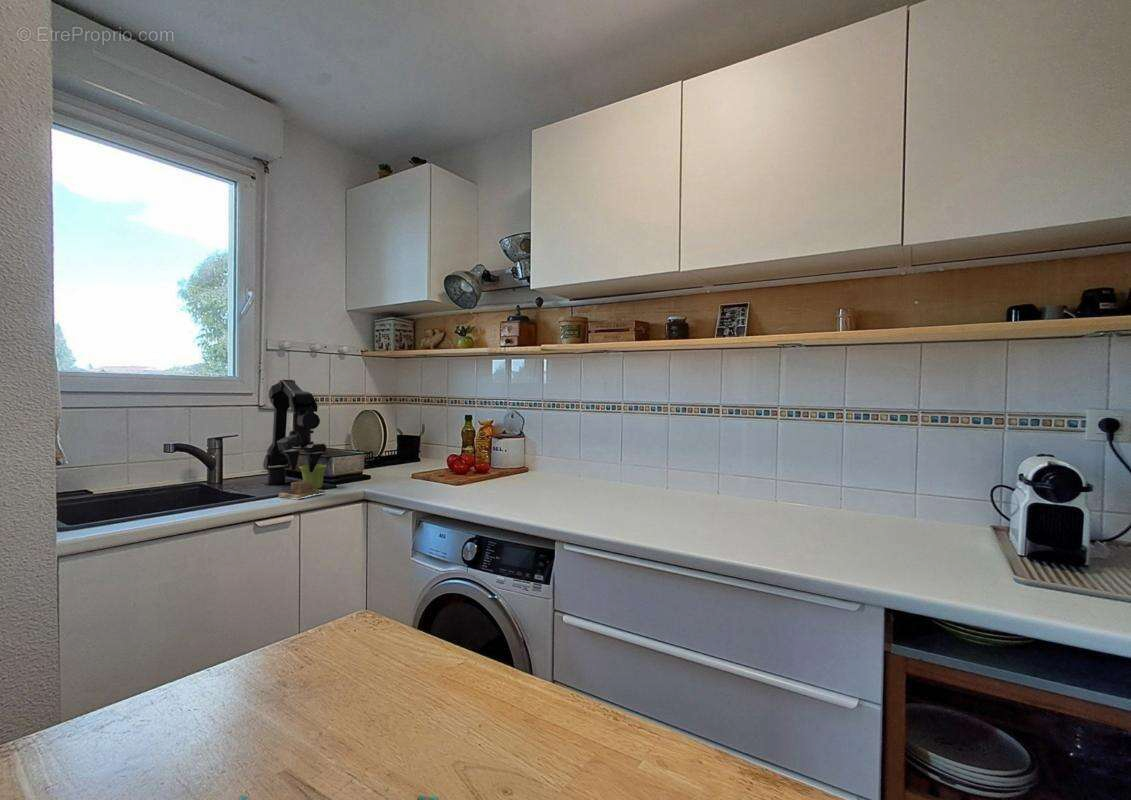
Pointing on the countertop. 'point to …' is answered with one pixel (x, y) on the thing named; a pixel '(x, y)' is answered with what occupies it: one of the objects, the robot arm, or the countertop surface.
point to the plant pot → (313, 475)
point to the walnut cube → (301, 487)
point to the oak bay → (315, 491)
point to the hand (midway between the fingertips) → (302, 471)
